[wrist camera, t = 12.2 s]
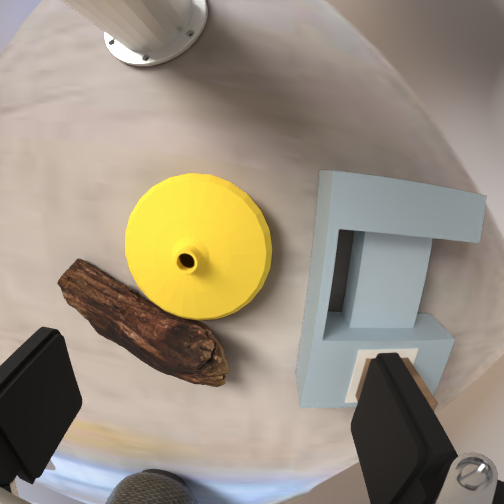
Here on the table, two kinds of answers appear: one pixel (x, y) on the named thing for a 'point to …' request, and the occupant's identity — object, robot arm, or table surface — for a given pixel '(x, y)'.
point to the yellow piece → (198, 246)
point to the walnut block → (414, 374)
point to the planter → (151, 489)
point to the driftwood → (145, 327)
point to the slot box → (377, 280)
